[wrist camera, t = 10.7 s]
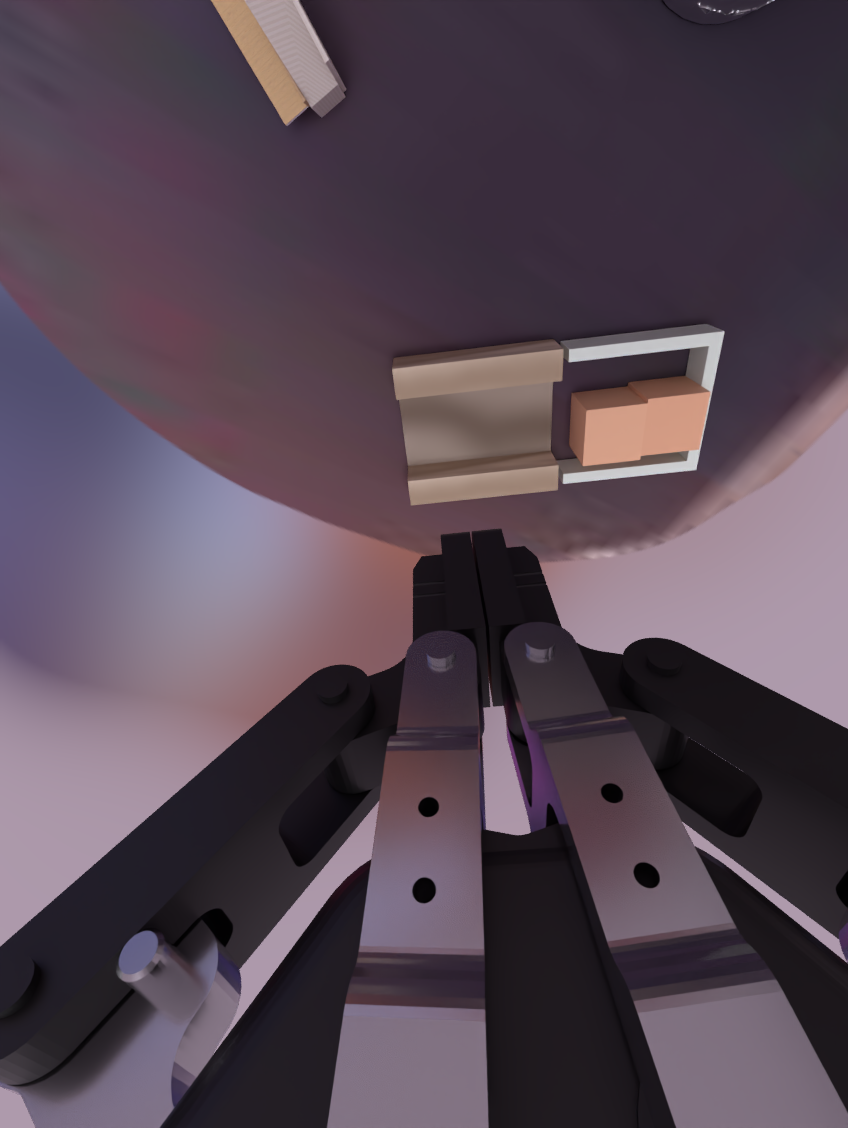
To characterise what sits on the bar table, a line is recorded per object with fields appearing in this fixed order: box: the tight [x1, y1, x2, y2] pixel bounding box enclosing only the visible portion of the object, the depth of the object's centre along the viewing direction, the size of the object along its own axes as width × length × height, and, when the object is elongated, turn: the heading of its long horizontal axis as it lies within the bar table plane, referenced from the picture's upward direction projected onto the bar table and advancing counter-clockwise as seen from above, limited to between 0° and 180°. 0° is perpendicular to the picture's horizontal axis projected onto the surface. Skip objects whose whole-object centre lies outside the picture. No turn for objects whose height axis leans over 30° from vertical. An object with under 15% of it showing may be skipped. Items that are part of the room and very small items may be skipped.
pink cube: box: [569, 386, 648, 466], centre depth 37 cm, size 4×4×4 cm
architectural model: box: [211, 0, 347, 126], centre depth 24 cm, size 3×7×7 cm, turn 32°
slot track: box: [392, 339, 563, 505], centre depth 37 cm, size 10×11×3 cm
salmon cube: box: [628, 376, 711, 456], centre depth 37 cm, size 4×4×4 cm
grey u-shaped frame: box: [556, 324, 724, 484], centre depth 37 cm, size 10×10×2 cm
